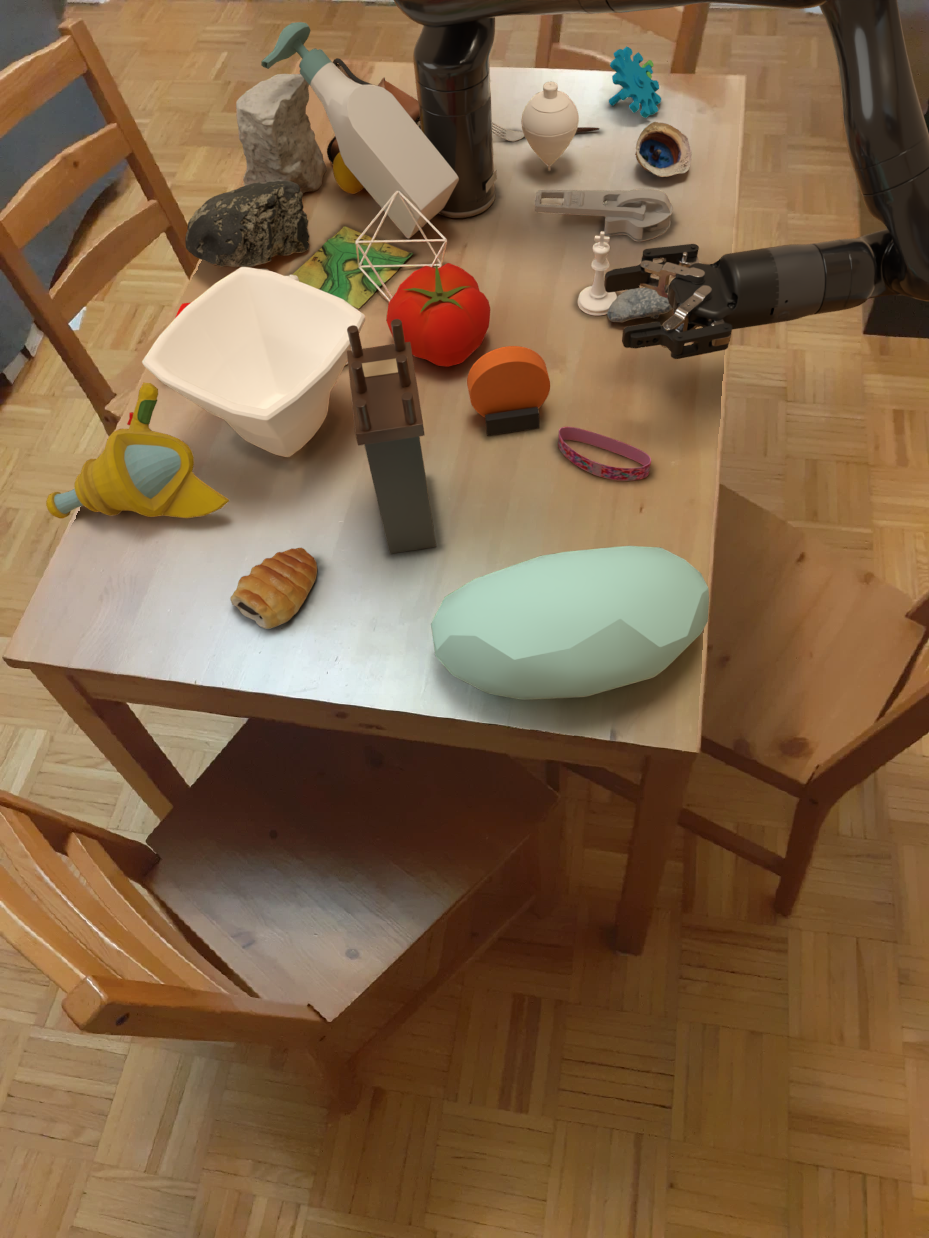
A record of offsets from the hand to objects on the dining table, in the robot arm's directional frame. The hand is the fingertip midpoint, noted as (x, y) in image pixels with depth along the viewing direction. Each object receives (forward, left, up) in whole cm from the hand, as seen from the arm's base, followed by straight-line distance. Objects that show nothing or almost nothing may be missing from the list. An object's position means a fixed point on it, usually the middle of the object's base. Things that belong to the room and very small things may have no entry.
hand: (614, 309), depth 96 cm
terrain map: (-40, -9, -13) cm, 43 cm away
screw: (-25, -21, -14) cm, 35 cm away
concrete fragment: (-54, -11, -7) cm, 56 cm away
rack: (-1, -27, +5) cm, 28 cm away
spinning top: (-38, +23, -13) cm, 46 cm away
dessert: (-27, +35, -7) cm, 45 cm away
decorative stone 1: (-58, -5, -14) cm, 60 cm away
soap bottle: (-36, +1, -9) cm, 37 cm away
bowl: (-21, -31, -13) cm, 40 cm away
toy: (-28, -48, -3) cm, 56 cm away
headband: (+7, -6, -13) cm, 16 cm away
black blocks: (-5, -10, -13) cm, 17 cm away
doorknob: (-49, -2, -9) cm, 50 cm away
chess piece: (-13, +10, -13) cm, 22 cm away
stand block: (-1, -27, -13) cm, 30 cm away
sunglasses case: (-61, +10, -13) cm, 63 cm away
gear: (-41, +42, -13) cm, 61 cm away
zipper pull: (-25, +21, -14) cm, 35 cm away
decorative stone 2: (+24, -29, -15) cm, 40 cm away
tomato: (-20, -9, -13) cm, 26 cm away
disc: (-5, -10, -13) cm, 17 cm away
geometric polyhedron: (-32, 0, -13) cm, 35 cm away
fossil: (-10, +14, -12) cm, 21 cm away
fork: (-45, +28, -14) cm, 55 cm away
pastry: (-1, -44, -13) cm, 46 cm away
